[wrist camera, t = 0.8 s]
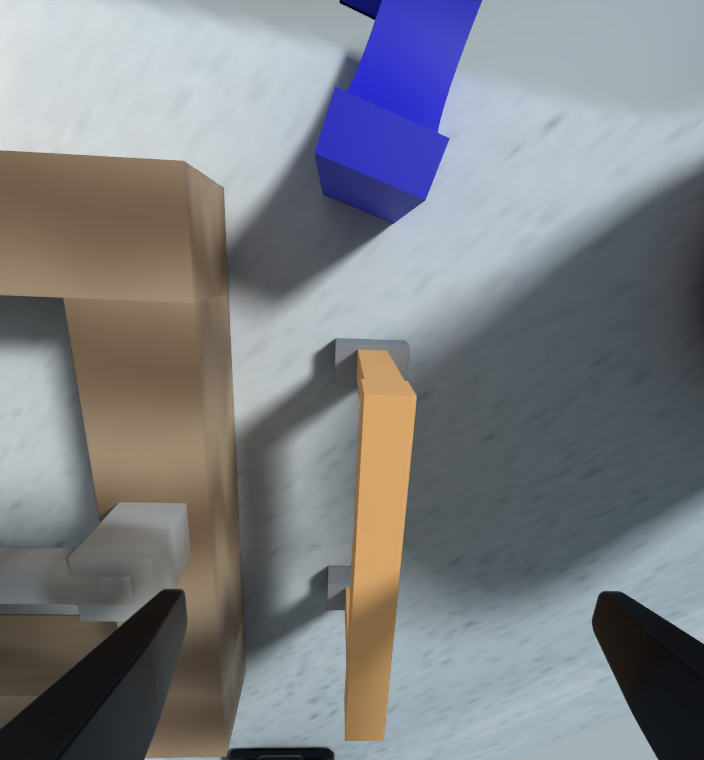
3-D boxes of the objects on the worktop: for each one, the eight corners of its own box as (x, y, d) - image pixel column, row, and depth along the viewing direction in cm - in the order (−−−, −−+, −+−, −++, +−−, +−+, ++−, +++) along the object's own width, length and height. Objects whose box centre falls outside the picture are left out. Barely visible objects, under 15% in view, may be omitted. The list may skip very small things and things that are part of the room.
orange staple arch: (383, 591, 21) (405, 743, 14) (327, 590, 21) (322, 744, 14) (404, 340, 17) (447, 389, 10) (335, 338, 17) (334, 386, 10)
